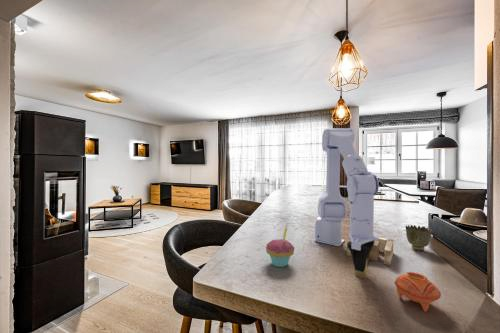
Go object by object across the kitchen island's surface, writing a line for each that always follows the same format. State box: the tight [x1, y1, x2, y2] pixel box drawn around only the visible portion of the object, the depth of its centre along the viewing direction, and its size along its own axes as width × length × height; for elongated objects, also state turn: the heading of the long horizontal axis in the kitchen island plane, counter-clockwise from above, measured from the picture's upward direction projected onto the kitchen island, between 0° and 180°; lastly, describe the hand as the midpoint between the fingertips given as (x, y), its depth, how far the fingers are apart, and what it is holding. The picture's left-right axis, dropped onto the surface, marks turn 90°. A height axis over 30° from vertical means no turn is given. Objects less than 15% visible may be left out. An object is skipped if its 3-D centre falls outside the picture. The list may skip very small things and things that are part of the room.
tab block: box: [354, 240, 380, 279], centre depth 65 cm, size 5×19×6 cm, turn 143°
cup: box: [405, 224, 433, 252], centre depth 77 cm, size 8×7×8 cm
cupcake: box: [265, 224, 295, 268], centre depth 65 cm, size 9×8×12 cm
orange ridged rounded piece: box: [394, 271, 441, 313], centre depth 47 cm, size 8×8×7 cm
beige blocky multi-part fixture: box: [346, 236, 394, 267], centre depth 73 cm, size 12×12×4 cm
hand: (360, 268), depth 59 cm, fingers closed on tab block, 3 cm apart
